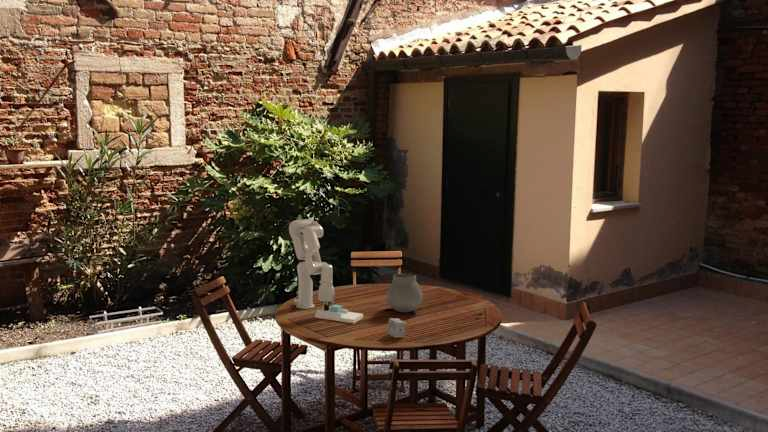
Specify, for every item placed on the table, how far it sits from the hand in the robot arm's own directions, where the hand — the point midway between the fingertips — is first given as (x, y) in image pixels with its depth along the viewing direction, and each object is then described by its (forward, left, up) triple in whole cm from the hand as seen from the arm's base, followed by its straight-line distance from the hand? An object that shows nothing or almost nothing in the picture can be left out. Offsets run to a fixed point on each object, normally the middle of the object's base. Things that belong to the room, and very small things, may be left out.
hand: (326, 310), depth 465 cm
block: (+7, 0, -1) cm, 7 cm away
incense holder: (+57, -18, -4) cm, 60 cm away
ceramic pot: (+41, +34, -4) cm, 54 cm away
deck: (+9, 0, -3) cm, 10 cm away
